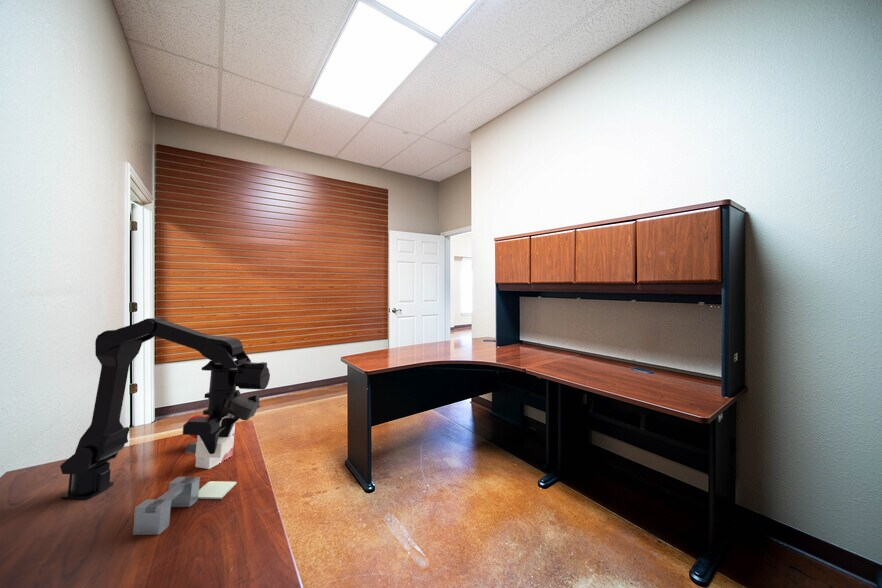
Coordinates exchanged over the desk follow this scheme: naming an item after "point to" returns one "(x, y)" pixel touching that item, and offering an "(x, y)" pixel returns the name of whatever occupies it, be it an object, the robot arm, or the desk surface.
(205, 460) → the ink cartridge box
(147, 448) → the desk surface
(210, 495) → the mat
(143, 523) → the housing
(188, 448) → the plug
